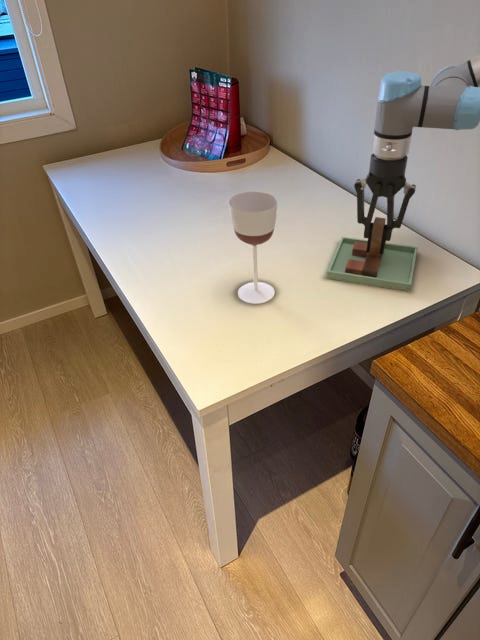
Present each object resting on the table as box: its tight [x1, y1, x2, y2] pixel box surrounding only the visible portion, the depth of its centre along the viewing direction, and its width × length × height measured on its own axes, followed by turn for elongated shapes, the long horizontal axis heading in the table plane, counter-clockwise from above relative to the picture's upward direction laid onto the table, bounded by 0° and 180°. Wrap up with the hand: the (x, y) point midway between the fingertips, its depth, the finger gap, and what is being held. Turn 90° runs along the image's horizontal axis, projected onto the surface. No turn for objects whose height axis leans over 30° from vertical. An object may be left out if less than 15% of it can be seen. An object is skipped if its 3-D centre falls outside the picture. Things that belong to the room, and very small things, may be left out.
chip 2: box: [345, 259, 364, 275], centre depth 117 cm, size 4×4×2 cm
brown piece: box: [362, 216, 387, 278], centre depth 116 cm, size 4×14×12 cm, turn 160°
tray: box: [326, 236, 419, 293], centre depth 119 cm, size 19×17×2 cm
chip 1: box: [352, 241, 368, 257], centre depth 123 cm, size 4×4×2 cm
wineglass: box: [228, 191, 278, 305], centre depth 106 cm, size 9×10×23 cm
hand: (375, 250), depth 117 cm, fingers closed on brown piece, 2 cm apart
